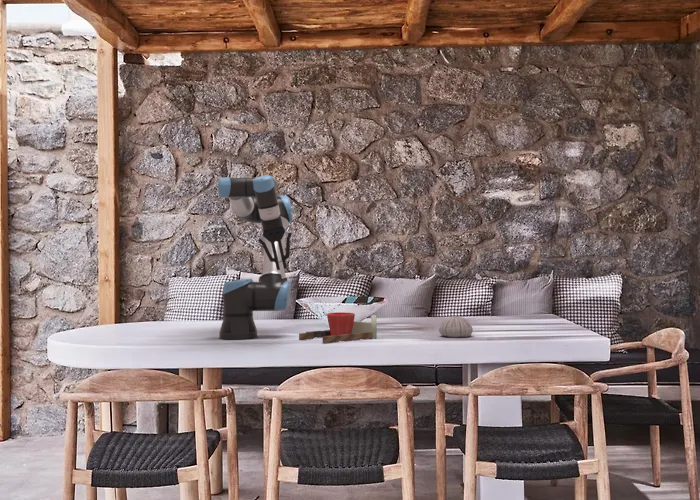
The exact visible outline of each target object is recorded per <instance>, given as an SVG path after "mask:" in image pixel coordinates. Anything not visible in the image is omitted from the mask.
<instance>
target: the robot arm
mask: <svg viewBox="0 0 700 500" xmlns="http://www.w3.org/2000/svg"><path fill="white" fill-rule="evenodd" d="M217 182H218V183H217V192H218V196H219V197H220V198H224V199H228V200H229V202H230V204H231V210H232V212H233V214H234V215H235V216H236V217H237V218H239V219H241V220H242V221H245V222H248V223H252V224H253V223H254V224H261V227H262V235H261V236H260V237H258V239H257V241H258V242H259V243H260V245H262V248H263V257H262V258H263V260H262V261H263V262H262V274H261V275H260V276H259V277H258V281H254V280H253V278H250V277H249V278H244V279H238V280H237V279H235V280H229V281H225V282H224V284H223V289H222V291H223V292H222V296H223V319H222V323H221V327H220V329H219V333H218V334H219V335H218V336H219V337H218V338H219V339H222V340H249V339H250V340H251V339H256V338H258V330H257V327H256V322H255V320H254V312H278V311H286V310H288V307H290V300H291V291H292V283H291V281H289V280H288V278H287V276H286V271H285V270H286V269H288V268H287V262H286V260H287V259H289V258H290V252H291V251H290V250H291V249H290V247H291V238H292V236H293V235H292V234H293V233H292V232H291V231H288V230H287V228H288V227H289V224H290V223H292V222H293V214H292V207H291V201H290V200H291V198H290V197H289V196H287V195H280V194H278V195H277V192H278V191H277V190H278V182H277V180H276V179H275V178H274V176H272V175H269V174H268V175H260V176H257V177H229V176H228V177H221V178H219V179H218V181H217Z"/></svg>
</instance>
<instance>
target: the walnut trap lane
mask: <svg viewBox="0 0 700 500" xmlns="http://www.w3.org/2000/svg"><path fill="white" fill-rule="evenodd" d="M315 337H318V338H322V344H324V345H325V344H331V343H333V342H335V343H340V342H339V341H345V342H352V340H354V341H360V339H364V340H371V339H370V338H372V332H365V333H355V334H344V335H333V336H331V334H330V329H326V330H312V331H305V332H302V333H301V332H300V333H298V341H304V340H305V341H306V340H307V339H308V340H314V339H316V338H315ZM308 340H307V341H308ZM333 344H334V343H333Z"/></svg>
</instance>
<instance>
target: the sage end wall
mask: <svg viewBox="0 0 700 500" xmlns="http://www.w3.org/2000/svg"><path fill="white" fill-rule="evenodd" d="M370 316H371V317H370V319H371V321H370V322H368V321H357V320H354V324H353V329H352V334H355V333H365V332H372V338H377V337H378V336H377V333H378V331H377V330H378V329H377V326H378V324H377V315H376V314H371V315H370ZM377 339H378V338H377Z"/></svg>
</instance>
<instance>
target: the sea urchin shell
mask: <svg viewBox="0 0 700 500" xmlns="http://www.w3.org/2000/svg"><path fill="white" fill-rule="evenodd" d="M438 333H439V334H440V335H441V336H443V337H447V338H454V339H455V338H456V339H457V338H467V337H470V336H471V335H472V334H473V326H472V324H471V323H470V322H469V321H468V320H467V319H466V318H465V317H463V316H455V315H453V316H449V317H447V318H445V319H444V320H443V321H442V322H441V323H440V325H439V327H438Z"/></svg>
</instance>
